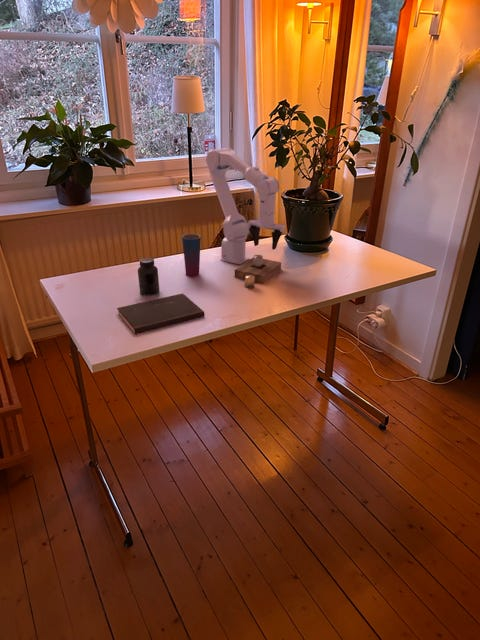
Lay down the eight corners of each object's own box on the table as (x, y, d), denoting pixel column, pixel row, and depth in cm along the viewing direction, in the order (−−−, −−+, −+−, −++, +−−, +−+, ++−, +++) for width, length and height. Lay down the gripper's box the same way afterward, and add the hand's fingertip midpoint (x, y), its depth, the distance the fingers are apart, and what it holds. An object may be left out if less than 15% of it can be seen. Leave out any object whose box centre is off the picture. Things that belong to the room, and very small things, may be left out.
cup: (180, 276, 177) (178, 237, 170) (188, 269, 183) (187, 232, 176) (196, 279, 175) (195, 240, 168) (204, 272, 180) (203, 235, 173)
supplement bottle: (152, 286, 168) (149, 254, 163) (163, 292, 164) (161, 259, 158) (135, 291, 164) (132, 259, 158) (147, 297, 160) (144, 264, 154)
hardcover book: (117, 314, 150) (116, 307, 149) (183, 299, 161) (182, 293, 160) (135, 336, 138) (134, 329, 137) (204, 318, 149) (204, 311, 148)
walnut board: (234, 276, 177) (234, 269, 176) (253, 263, 190) (254, 256, 188) (263, 283, 172) (263, 276, 171) (280, 269, 185) (281, 262, 183)
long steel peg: (251, 273, 180) (251, 256, 177) (256, 271, 183) (256, 254, 179) (259, 275, 179) (259, 258, 175) (263, 273, 181) (264, 255, 178)
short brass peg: (243, 287, 169) (243, 277, 167) (247, 284, 172) (247, 274, 170) (251, 289, 168) (251, 279, 166) (255, 286, 170) (256, 275, 168)
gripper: (244, 211, 173) (243, 246, 180) (280, 217, 167) (277, 253, 174) (253, 207, 179) (252, 241, 185) (288, 212, 173) (285, 248, 179)
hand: (265, 247), depth 180 cm, fingers open, 7 cm apart
